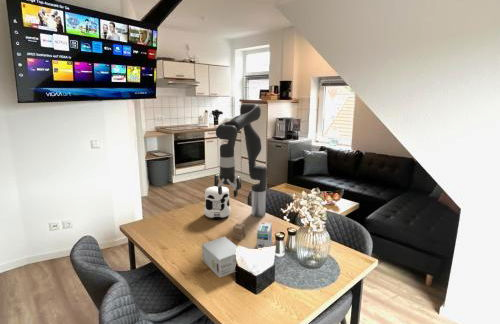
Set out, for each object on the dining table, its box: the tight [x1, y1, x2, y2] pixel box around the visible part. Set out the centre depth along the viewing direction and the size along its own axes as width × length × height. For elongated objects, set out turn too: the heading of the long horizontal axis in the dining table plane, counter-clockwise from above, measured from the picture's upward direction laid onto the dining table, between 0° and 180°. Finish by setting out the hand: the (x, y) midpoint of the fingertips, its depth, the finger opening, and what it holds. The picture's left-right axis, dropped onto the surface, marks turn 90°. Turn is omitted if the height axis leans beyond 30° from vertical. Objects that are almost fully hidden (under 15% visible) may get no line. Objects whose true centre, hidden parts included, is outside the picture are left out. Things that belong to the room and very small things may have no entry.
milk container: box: [203, 185, 232, 220], centre depth 191 cm, size 17×17×18 cm
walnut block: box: [232, 222, 246, 241], centre depth 163 cm, size 5×5×7 cm
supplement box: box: [201, 235, 239, 279], centre depth 137 cm, size 17×13×9 cm
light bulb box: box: [256, 221, 273, 249], centre depth 155 cm, size 11×7×11 cm, turn 168°
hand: (227, 195), depth 149 cm, fingers open, 8 cm apart
